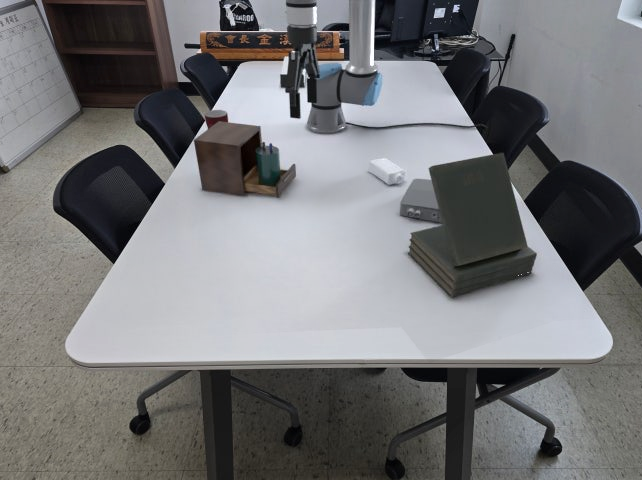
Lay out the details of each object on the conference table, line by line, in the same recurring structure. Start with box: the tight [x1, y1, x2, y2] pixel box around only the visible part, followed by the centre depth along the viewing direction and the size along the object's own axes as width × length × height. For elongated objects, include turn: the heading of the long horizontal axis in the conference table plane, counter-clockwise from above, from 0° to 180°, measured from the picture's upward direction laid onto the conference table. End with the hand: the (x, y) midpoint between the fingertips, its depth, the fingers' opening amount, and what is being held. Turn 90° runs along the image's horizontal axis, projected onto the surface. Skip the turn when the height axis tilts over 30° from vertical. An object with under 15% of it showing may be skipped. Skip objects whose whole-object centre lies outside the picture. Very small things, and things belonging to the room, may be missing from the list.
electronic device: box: [399, 178, 443, 224], centre depth 143 cm, size 19×22×5 cm
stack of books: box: [407, 152, 538, 299], centre depth 115 cm, size 23×20×25 cm
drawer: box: [244, 163, 297, 199], centre depth 153 cm, size 14×15×4 cm
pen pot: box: [255, 141, 281, 187], centre depth 149 cm, size 7×7×13 cm
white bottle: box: [368, 157, 406, 186], centre depth 159 cm, size 6×13×4 cm, turn 30°
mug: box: [204, 109, 229, 130], centre depth 180 cm, size 10×8×10 cm
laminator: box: [279, 55, 307, 88], centre depth 248 cm, size 34×12×6 cm, turn 2°
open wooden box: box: [193, 121, 263, 197], centre depth 152 cm, size 14×16×16 cm
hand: (304, 110), depth 137 cm, fingers open, 13 cm apart
